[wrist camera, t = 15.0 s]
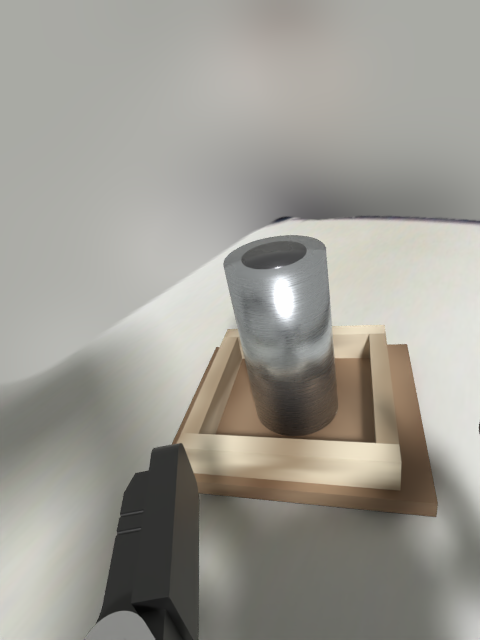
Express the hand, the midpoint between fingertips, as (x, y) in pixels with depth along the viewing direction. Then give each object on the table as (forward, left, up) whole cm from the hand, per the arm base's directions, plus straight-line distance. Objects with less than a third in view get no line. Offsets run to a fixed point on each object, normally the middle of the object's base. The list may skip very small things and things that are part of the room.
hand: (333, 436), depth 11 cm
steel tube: (-3, +10, -9) cm, 14 cm away
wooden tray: (-3, +10, -10) cm, 15 cm away
